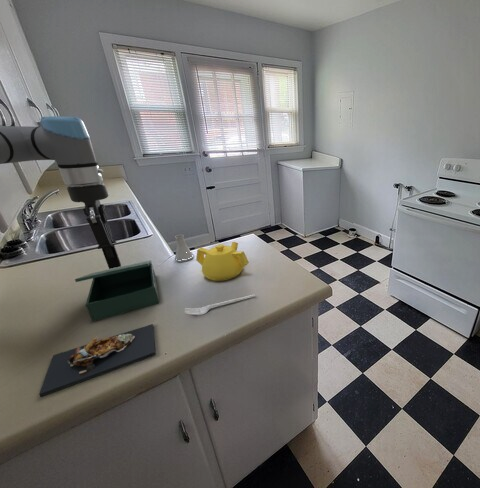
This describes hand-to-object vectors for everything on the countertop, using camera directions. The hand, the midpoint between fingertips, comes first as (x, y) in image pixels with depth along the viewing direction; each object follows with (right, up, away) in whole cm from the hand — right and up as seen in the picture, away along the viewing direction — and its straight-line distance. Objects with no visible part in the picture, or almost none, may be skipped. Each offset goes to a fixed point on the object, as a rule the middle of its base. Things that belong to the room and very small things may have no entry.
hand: (115, 266), depth 77 cm
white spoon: (+29, -12, +4) cm, 32 cm away
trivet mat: (+9, -20, -14) cm, 26 cm away
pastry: (+8, -19, -14) cm, 25 cm away
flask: (+2, 0, +34) cm, 34 cm away
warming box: (-3, -10, +9) cm, 14 cm away
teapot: (+23, -4, +24) cm, 34 cm away
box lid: (-3, -2, +5) cm, 6 cm away
